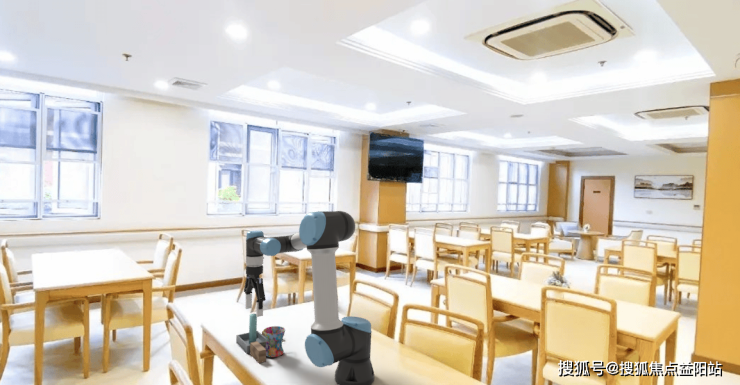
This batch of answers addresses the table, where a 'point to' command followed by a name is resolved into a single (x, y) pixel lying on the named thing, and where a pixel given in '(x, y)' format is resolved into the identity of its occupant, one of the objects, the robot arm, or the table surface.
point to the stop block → (258, 352)
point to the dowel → (252, 328)
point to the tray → (244, 341)
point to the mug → (274, 341)
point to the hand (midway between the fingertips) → (253, 312)
